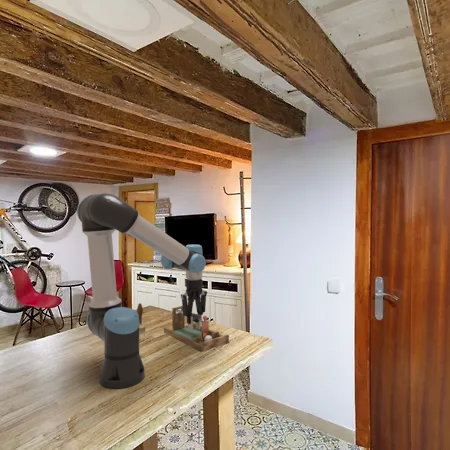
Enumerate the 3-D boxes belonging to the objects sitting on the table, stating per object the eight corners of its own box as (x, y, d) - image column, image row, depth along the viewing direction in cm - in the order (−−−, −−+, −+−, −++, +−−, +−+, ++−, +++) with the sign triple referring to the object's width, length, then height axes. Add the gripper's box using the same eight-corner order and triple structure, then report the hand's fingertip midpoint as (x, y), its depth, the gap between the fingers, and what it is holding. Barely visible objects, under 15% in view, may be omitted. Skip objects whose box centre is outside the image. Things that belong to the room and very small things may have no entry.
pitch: (201, 354, 136) (200, 325, 136) (164, 334, 159) (163, 309, 159) (228, 345, 146) (228, 318, 146) (190, 327, 169) (190, 304, 169)
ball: (202, 340, 146) (206, 346, 143) (204, 334, 144) (208, 340, 142) (208, 338, 148) (212, 344, 146) (210, 332, 147) (214, 338, 144)
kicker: (203, 342, 145) (203, 317, 145) (171, 326, 166) (170, 304, 165) (209, 340, 147) (209, 315, 147) (176, 325, 168) (176, 303, 167)
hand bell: (151, 334, 159) (151, 301, 159) (145, 341, 151) (145, 306, 151) (134, 334, 160) (134, 301, 160) (127, 340, 152) (127, 305, 152)
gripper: (183, 282, 144) (183, 336, 145) (213, 277, 155) (213, 327, 155) (174, 279, 150) (174, 331, 151) (203, 275, 160) (203, 323, 161)
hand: (194, 329), depth 153 cm, fingers closed on kicker, 3 cm apart
